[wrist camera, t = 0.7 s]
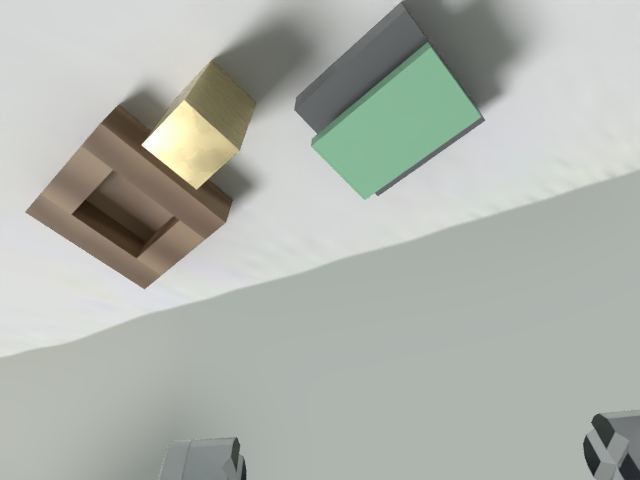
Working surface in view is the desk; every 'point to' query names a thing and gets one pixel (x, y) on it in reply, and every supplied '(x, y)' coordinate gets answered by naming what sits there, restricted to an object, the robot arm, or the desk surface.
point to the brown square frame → (129, 203)
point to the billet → (202, 126)
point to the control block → (368, 76)
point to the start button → (396, 123)
